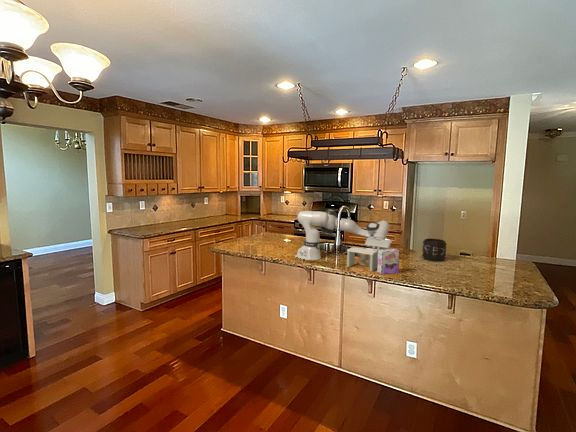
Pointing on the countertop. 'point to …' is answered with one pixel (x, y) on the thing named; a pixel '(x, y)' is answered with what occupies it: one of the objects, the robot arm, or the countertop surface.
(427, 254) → the lettered black canister
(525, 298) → the countertop surface
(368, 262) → the birch block
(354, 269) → the trap pit
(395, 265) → the candy box
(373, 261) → the tunnel
